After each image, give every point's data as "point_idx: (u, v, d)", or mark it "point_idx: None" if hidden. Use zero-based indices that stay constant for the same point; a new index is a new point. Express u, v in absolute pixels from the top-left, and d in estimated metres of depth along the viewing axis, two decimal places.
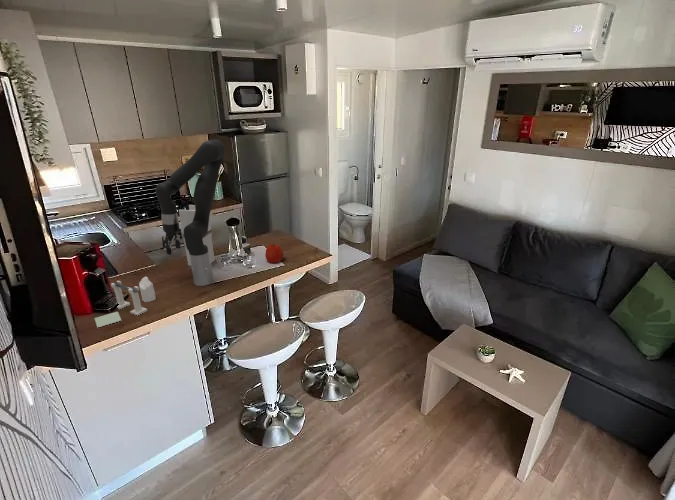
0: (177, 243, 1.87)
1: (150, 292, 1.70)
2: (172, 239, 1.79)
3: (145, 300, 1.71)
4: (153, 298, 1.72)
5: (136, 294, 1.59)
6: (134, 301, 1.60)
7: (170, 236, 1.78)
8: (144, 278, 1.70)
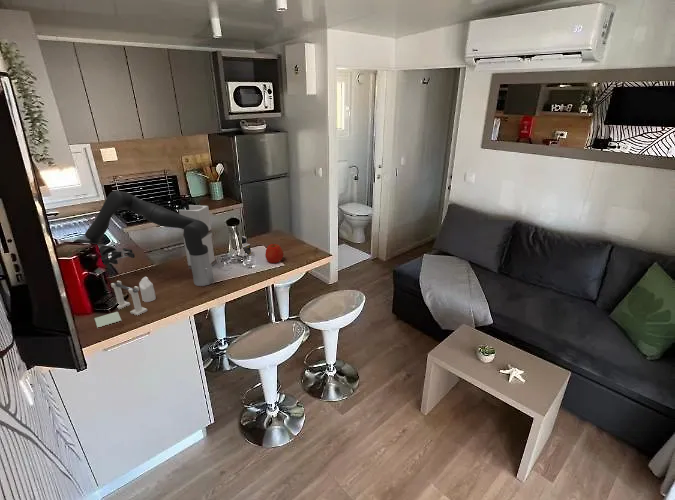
0: (129, 254, 1.75)
1: (150, 292, 1.70)
2: (108, 254, 1.71)
3: (145, 300, 1.71)
4: (153, 298, 1.72)
5: (136, 294, 1.59)
6: (134, 301, 1.60)
7: (106, 255, 1.72)
8: (144, 278, 1.70)
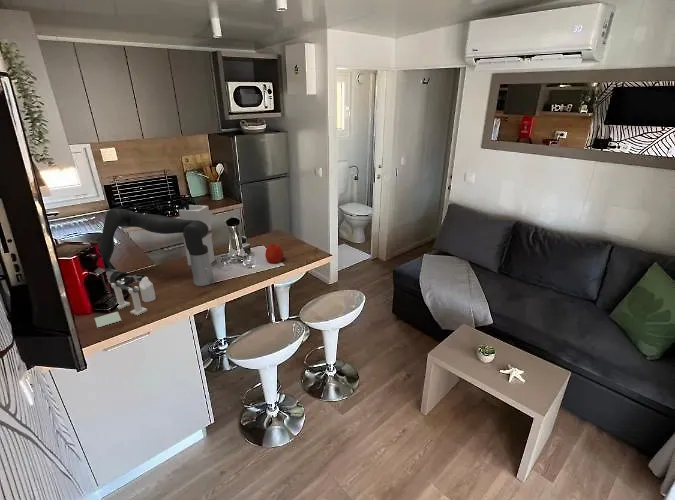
0: (141, 279, 1.78)
1: (150, 292, 1.70)
2: (121, 280, 1.74)
3: (145, 300, 1.71)
4: (153, 298, 1.72)
5: (136, 294, 1.59)
6: (134, 301, 1.60)
7: None
8: (144, 278, 1.70)
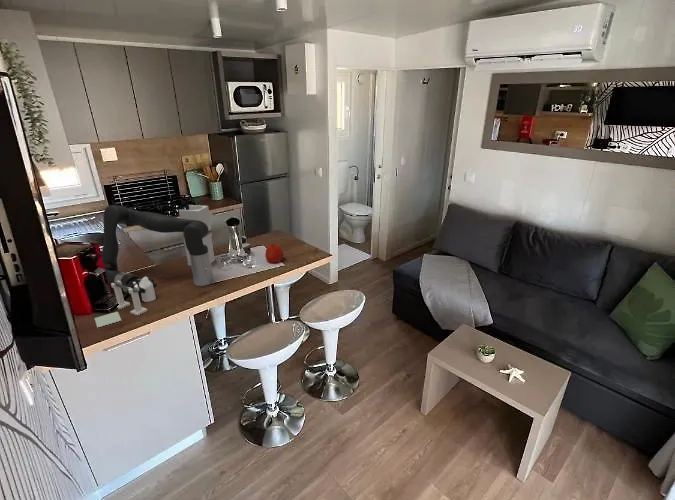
0: None
1: (150, 292, 1.70)
2: (133, 283, 1.71)
3: (145, 300, 1.71)
4: (153, 298, 1.72)
5: (136, 294, 1.59)
6: (134, 301, 1.60)
7: (130, 284, 1.71)
8: (144, 278, 1.70)
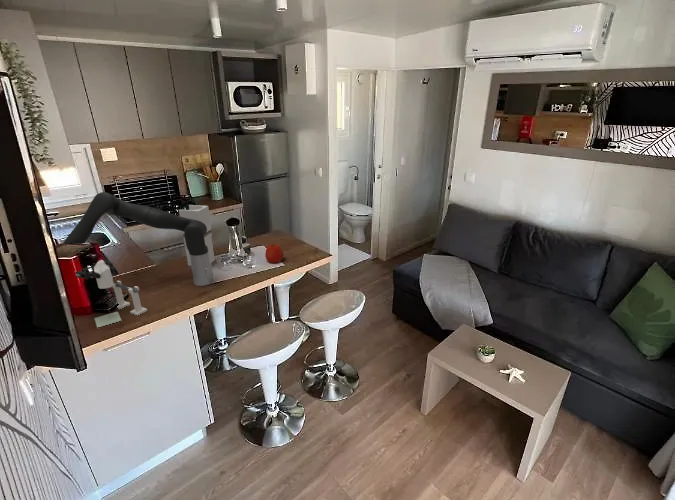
0: None
1: (107, 277, 1.51)
2: (88, 267, 1.51)
3: (101, 286, 1.51)
4: (110, 284, 1.53)
5: (136, 294, 1.59)
6: (134, 301, 1.60)
7: (84, 269, 1.51)
8: (99, 262, 1.50)
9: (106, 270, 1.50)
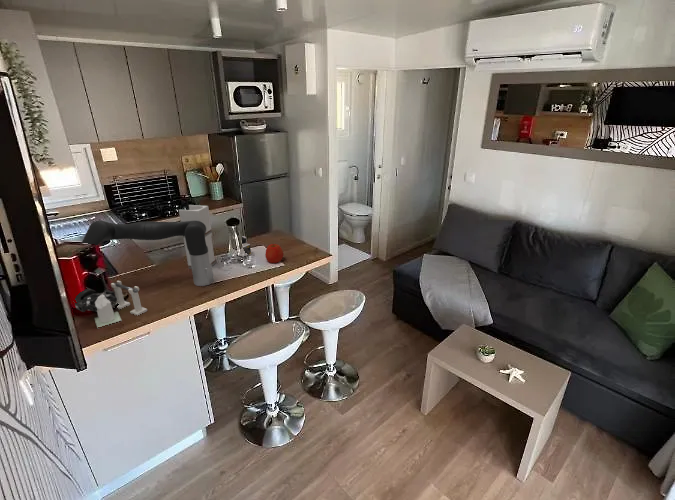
0: (110, 298, 1.57)
1: (108, 312, 1.53)
2: (87, 299, 1.53)
3: (102, 320, 1.53)
4: (111, 318, 1.55)
5: (136, 294, 1.59)
6: (134, 301, 1.60)
7: (84, 300, 1.53)
8: (100, 296, 1.52)
9: (107, 304, 1.52)
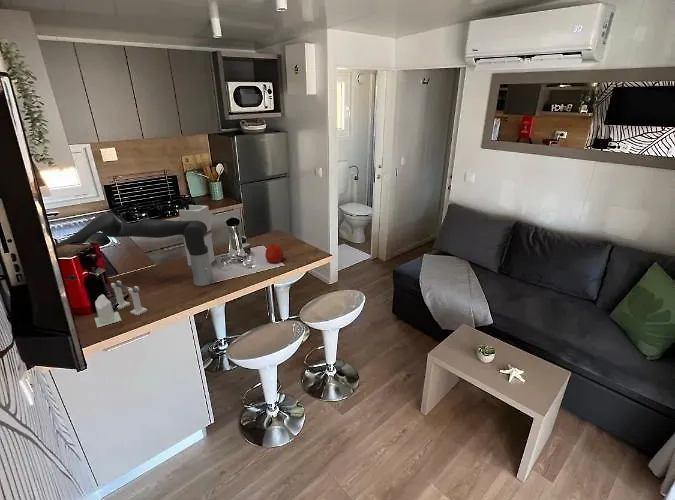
0: None
1: (108, 312, 1.53)
2: None
3: (102, 320, 1.53)
4: (111, 318, 1.55)
5: (136, 294, 1.59)
6: (134, 301, 1.60)
7: None
8: (101, 296, 1.52)
9: (107, 304, 1.52)
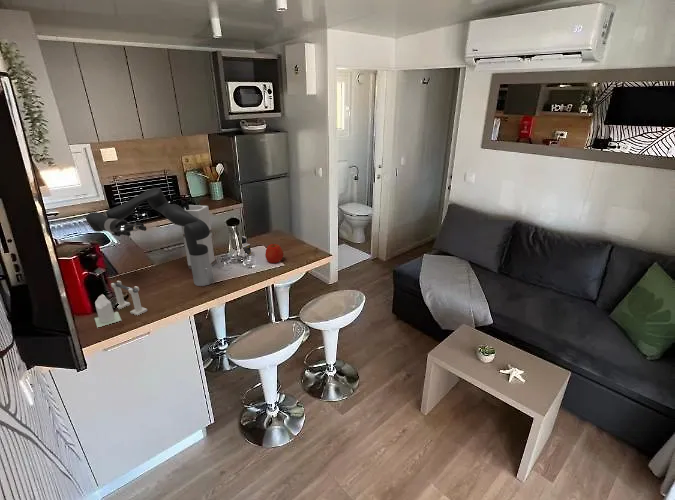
0: (141, 227, 1.80)
1: (108, 312, 1.53)
2: (121, 227, 1.76)
3: (102, 320, 1.53)
4: (111, 318, 1.55)
5: (136, 294, 1.59)
6: (134, 301, 1.60)
7: (118, 228, 1.76)
8: (101, 296, 1.52)
9: (107, 304, 1.52)
